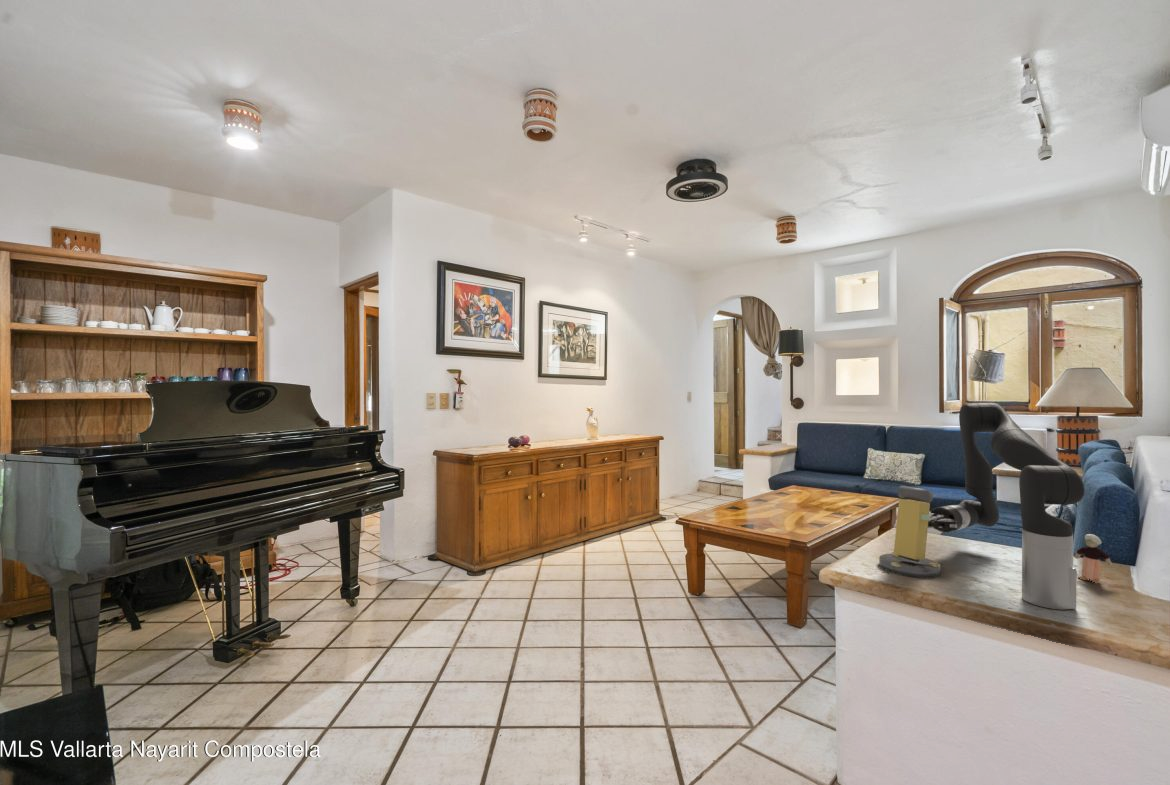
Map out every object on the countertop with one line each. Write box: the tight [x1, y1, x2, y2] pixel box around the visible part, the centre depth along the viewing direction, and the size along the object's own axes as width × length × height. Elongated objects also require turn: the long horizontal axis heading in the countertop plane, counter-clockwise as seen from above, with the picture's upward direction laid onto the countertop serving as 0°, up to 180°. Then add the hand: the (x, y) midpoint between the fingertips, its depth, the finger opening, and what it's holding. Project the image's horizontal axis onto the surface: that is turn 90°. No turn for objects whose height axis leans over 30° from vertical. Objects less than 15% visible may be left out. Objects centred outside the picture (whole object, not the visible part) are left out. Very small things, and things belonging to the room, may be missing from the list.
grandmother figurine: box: [1073, 533, 1113, 584], centre depth 143 cm, size 8×4×13 cm, turn 37°
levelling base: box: [878, 551, 941, 579], centre depth 153 cm, size 15×15×2 cm
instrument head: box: [893, 485, 934, 562], centre depth 153 cm, size 5×8×21 cm, turn 29°
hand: (917, 524), depth 155 cm, fingers closed
